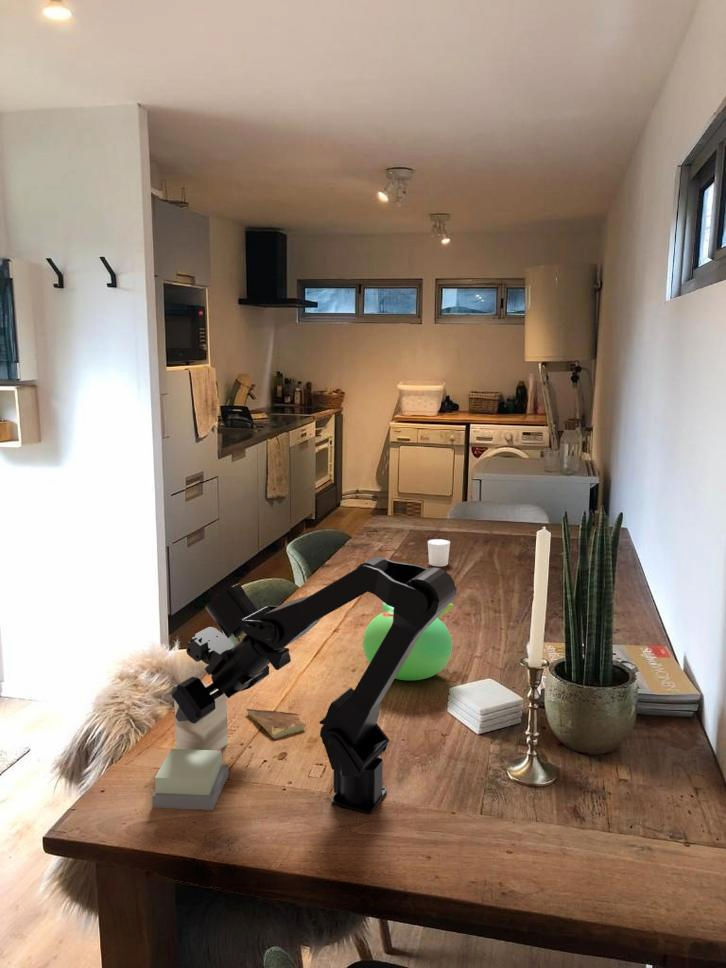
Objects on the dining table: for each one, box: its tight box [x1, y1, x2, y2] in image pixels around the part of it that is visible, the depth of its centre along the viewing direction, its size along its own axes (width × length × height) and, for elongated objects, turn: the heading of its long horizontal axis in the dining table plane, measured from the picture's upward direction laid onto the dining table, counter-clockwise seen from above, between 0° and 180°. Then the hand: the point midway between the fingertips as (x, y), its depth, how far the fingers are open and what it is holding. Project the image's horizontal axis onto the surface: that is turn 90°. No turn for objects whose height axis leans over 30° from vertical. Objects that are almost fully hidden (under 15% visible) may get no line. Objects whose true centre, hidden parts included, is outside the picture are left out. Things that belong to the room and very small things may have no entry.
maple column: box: [173, 682, 229, 751], centre depth 128 cm, size 6×6×10 cm
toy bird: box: [362, 601, 454, 681], centre depth 155 cm, size 18×17×15 cm
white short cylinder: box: [427, 538, 451, 567], centre depth 233 cm, size 7×7×7 cm
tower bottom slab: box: [151, 764, 230, 811], centre depth 116 cm, size 9×9×2 cm
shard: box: [246, 708, 307, 740], centre depth 138 cm, size 11×8×2 cm
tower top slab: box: [154, 748, 223, 795], centre depth 116 cm, size 8×8×2 cm
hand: (196, 706), depth 128 cm, fingers open, 9 cm apart
